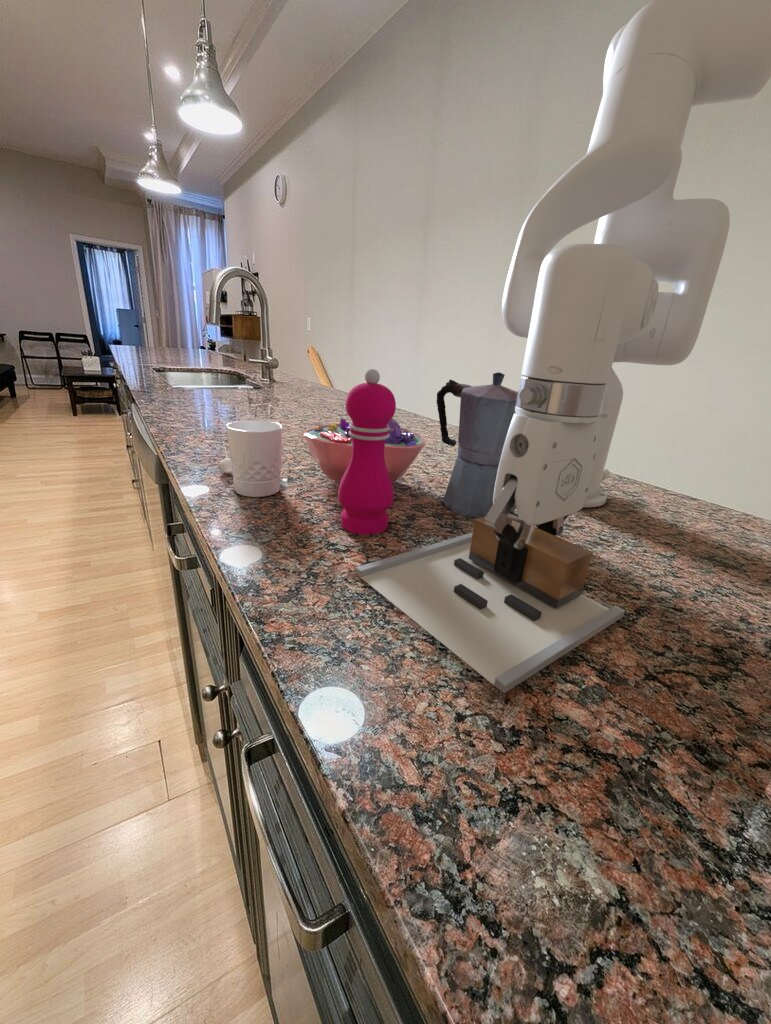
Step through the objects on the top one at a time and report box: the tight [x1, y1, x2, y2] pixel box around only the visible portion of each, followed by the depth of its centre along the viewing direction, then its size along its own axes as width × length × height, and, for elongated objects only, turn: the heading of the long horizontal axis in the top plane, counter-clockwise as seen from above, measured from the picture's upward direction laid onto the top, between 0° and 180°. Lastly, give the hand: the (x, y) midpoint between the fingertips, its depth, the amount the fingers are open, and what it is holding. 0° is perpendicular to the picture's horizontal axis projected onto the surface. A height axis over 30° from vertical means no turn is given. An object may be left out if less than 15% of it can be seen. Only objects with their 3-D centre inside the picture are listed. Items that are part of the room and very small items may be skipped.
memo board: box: [355, 531, 626, 694], centre depth 45 cm, size 18×20×1 cm
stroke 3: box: [504, 594, 542, 621], centre depth 43 cm, size 4×1×1 cm, turn 37°
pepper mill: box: [337, 368, 397, 535], centre depth 55 cm, size 7×7×20 cm
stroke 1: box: [454, 558, 484, 579], centre depth 49 cm, size 4×1×1 cm, turn 37°
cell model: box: [302, 417, 427, 483], centre depth 74 cm, size 17×20×11 cm
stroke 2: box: [454, 584, 488, 610], centre depth 44 cm, size 4×1×1 cm, turn 37°
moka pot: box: [436, 371, 518, 518], centre depth 64 cm, size 10×15×20 cm, turn 58°
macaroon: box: [217, 457, 233, 475], centre depth 74 cm, size 4×5×2 cm
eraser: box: [469, 516, 594, 608], centre depth 48 cm, size 4×12×5 cm, turn 37°
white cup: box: [225, 419, 283, 498], centre depth 67 cm, size 8×8×10 cm
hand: (522, 568), depth 48 cm, fingers closed on eraser, 4 cm apart
